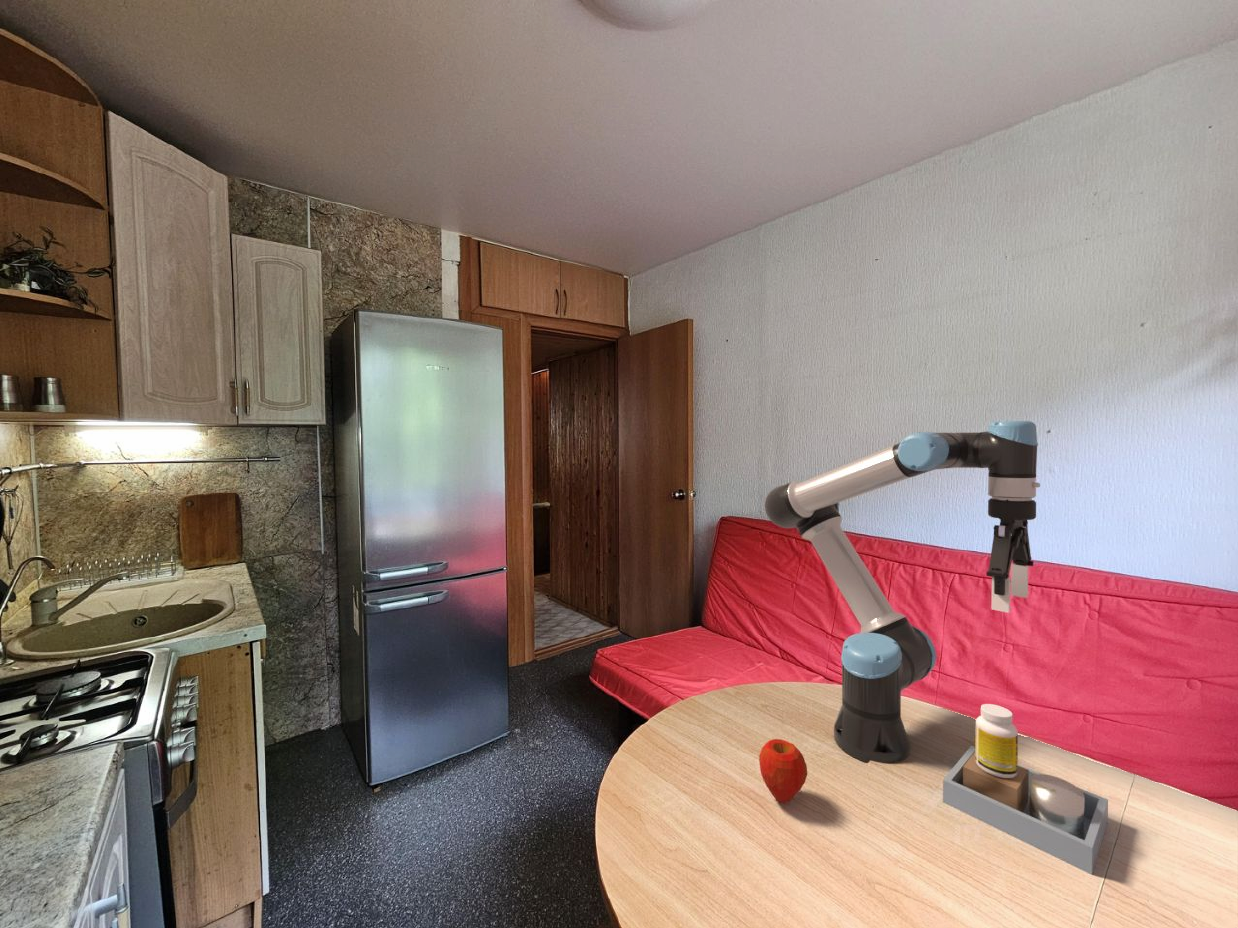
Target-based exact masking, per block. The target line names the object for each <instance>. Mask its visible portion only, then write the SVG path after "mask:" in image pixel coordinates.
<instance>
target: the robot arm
mask: <svg viewBox="0 0 1238 928" xmlns="http://www.w3.org/2000/svg"><path fill="white" fill-rule="evenodd" d="M1037 436H1038V434H1037V425H1036V424H1035V423H1034V422H1033V421H1030V420H1010V421H1009V420H1008V421H1007V420H1006V421H993V422H990V423H989V425H988V429H987V431H979V432H932V431H931V432H930V431H920V432H917V433H912V434H909V435H907V436H905V437H904V438H903V439H902V440H901V441H900V442H899V443H896V444H895V443H894V444H893V445H891V446H888V447H886V448H883V449H881V450H879V451H876V452H873V453H871V454H868V455H866V456H863V457H861V458H859V459H856V460H853V461H852V462H849V463H846V464H844V465H841V466H839V467H835V468H834V469H832V470H830V471H826V472H824V473H822V474H819V475H817V476H814V477H811V478H809V479H807V480H804V481H802V482H801V481H800V480H793V481H791V482H789V483H786V484H784V485H779V486H776V487H775V488H772V489H771V490H770V492H768V495H766V497H765V501H764V509H765V510H764V511H765V513H766V516H767V517H768V520H770V522H771V523H773V524H774V525H775V526H777V527H780V528H782V529H795V528H796V529H797V532H798V533H799V535H800V537H801V539H804V540H808V541H810V542H811V544H812V545H813V547H814V550H815V551H816V553H817V554H818V555H819V557H820V559H821V561H822V562H823V564H824V566H825V567H826V570H827V571H828V573H829V574H830V576H831V577H832V580H833V581H834V583H835V585H836V586H837V588H838V590H839V591H840V593H841V594H842V597H843V598H844V599H845V601H846V603H847V605H848V606H849V608H850V610H851V612H852V613H853V614H854V616H855V618H856V619H857V621H858V622H859V624H860V631H859V633H855V634H852V635H850V636H848V637H847V638H846V639H845V640H844V642H843V644H842V652H841V656H840V657H841V658H840V659H841V691H842V692H841V697H842V698H841V699H842V701H841V707H840V708H839V711H838V714H837V717H836V720H835V722H834V724H833V739H834V741H835V743H836V745H837V747H838V748H840V749H841V750H842V751H843V752H845V753H846V754H847V755H849V756H851V757H852V758H856V759H857V760H860V761H862V762H865V763H869V762H875V763H883V764H893V763H900V762H903V761H904V760H907V759H908V757H909V755H910V754H911V744H910V740H909V737H908V734H907V731H906V728H905V725H904V722H903V719H902V715H901V713H902V712H901V709H902V705H901V703H902V700H901V699H902V692H903V691H904V690H905V689H907V688H908V687H910V686H911V685H913V684H915V683H916V682H918V681H921V680H923V679H924V678H926V677H927V676H928V675H929V673H931V672H932V670H933V669H934V667H935V666H936V662H937V652H936V648H935V647H936V646H935V645H934V643H933V641H932V639H931V637H929V636H928V634H926V632H925V631H923V630H922V629H919V628H917V627H916V626H913V625H912V624H911V623H910V621H909V620H908V619H907V617H906V615H905V614H902V613H899V612H897V611H895V610H894V609H893V607H892V605H891V604H890V602H889V601H888V599H887V597H886V596H885V595H884V593H883V591H882V590H881V588H880V587H879V585H878V583H877V582H876V580H875V578H874V577H873V575H872V574H871V572H870V571H869V569H868V568H867V566H866V565H865V562H864V561H863V560H862V558H861V556H860V555H859V553H858V552H857V551H856V549H855V547H854V546H853V544H852V542H851V541H850V539H849V537H848V536H847V535H846V533H845V531H844V529H843V528H842V527H841V523H842V520H843V518H842V516H841V514H840V513H839V511H840V508H839V506H840V503H841V502H844V501H847V500H850V499H853V498H856V497H858V496H861V495H864V494H867V493H870V492H873V491H875V490H878V489H881V488H884V487H888V486H889V485H890V486H891V485H893V484H896V483H898V482H901V481H904V480H908V479H910V478H913V477H916V476H919V475H923V474H926V473H929V472H931V471H935V470H944V469H955V468H956V469H957V468H961V469H962V468H964V469H965V468H967V469H968V468H969V469H988V480H987V482H988V483H987V495H988V496H989V497H991V498H989V499H988V500H987V501H988V504H987V514H988V515H987V516H989V517H991V518H992V519H993V518H994V519H998V520H1000V521H999V524H994V526H993V539H992V545H991V553H990V557H989V558H990V559H989V563H988V564H989V565H988V570H987V571H986V572H985V574H986V577H991V608H990V609H991V610H992V611H993V610H994V611H999V612H1002V613H1003V612H1004V613H1008V614H1009V613H1011V596H1013V597H1018V598H1023V599H1024V598H1025V599H1028V598H1029V567H1034V560H1032V554H1031V547H1030V537H1029V531H1028V529H1029V528H1028V527H1029V525H1028V524H1029V521H1031V520H1034V519H1036V517H1037V501H1035V500H1034V498H1036V496H1037V488H1040V487H1041V483H1040V482H1037V464H1038V463H1037V462H1038V461H1037V459H1038V457H1037V456H1038V446H1039V442H1038V437H1037ZM1009 576H1010V578H1009Z"/></svg>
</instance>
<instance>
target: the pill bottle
mask: <svg viewBox="0 0 1238 928" xmlns="http://www.w3.org/2000/svg"><path fill="white" fill-rule="evenodd" d="M1013 718H1014V716H1013V712H1012V711H1010V710H1009V709H1007V708H1005V707H1003V706H1001V705H998V704H993V703H983V704H981V706H980V715H978V717H976V719H975V736H974V737H975V739H974V740H975V743H974V745H975V746H974V747H975V760H976V763H977V765H978V766H979V767H980V768H981V769H982V770H983V771H985V772H987V773H989V774H991V775H994V776H997V777H1001V778H1014V777H1015V776H1016V775H1017V769H1018V768H1017V764H1019V763H1018V759H1019V758H1018V757H1019V756H1018V751H1019V750H1018V749H1019V747H1018V745H1019V744H1018V743H1019V742H1018V740H1019V738H1018V737H1019V735H1018V733H1019V732H1018V729H1017V727H1016V726H1015V725H1014V724H1013V721H1014V720H1013Z"/></svg>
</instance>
